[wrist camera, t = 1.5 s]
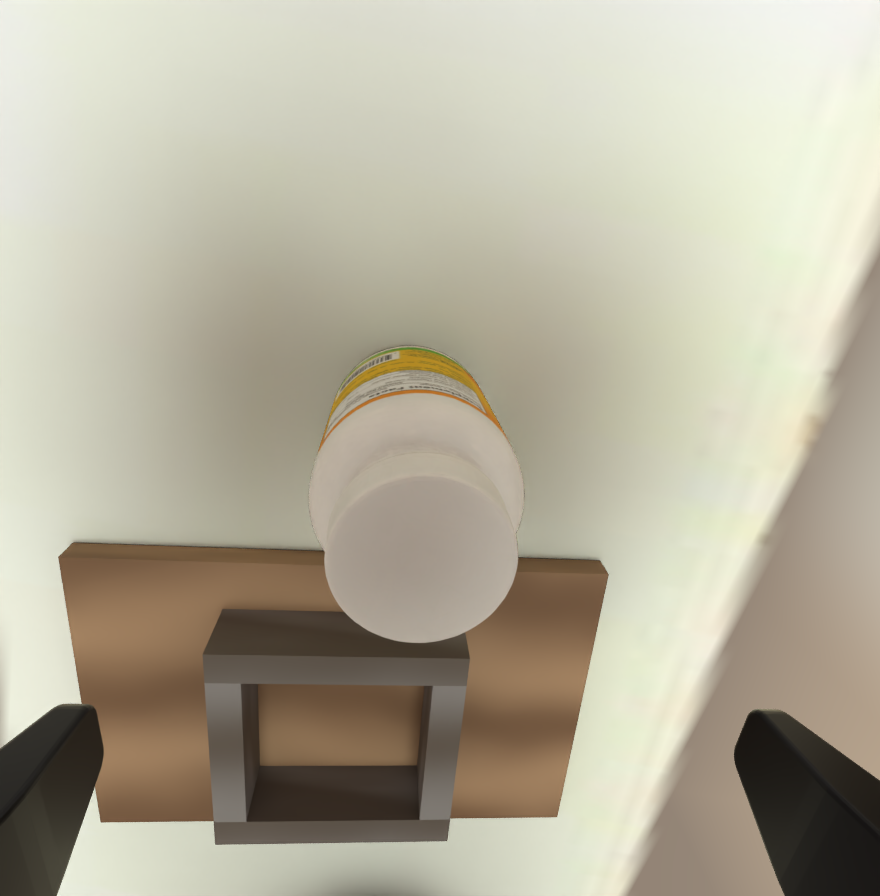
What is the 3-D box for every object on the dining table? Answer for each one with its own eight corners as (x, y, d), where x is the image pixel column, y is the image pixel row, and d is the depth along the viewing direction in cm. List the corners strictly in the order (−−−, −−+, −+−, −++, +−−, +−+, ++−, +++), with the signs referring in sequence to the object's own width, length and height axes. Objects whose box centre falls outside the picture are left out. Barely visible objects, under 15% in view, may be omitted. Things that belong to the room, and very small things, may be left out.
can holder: (551, 797, 28) (572, 872, 25) (111, 800, 26) (71, 883, 23) (599, 560, 24) (633, 614, 20) (72, 542, 22) (16, 599, 18)
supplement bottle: (460, 501, 22) (507, 690, 13) (319, 469, 21) (265, 649, 12) (504, 364, 21) (592, 476, 12) (351, 324, 20) (318, 410, 11)
